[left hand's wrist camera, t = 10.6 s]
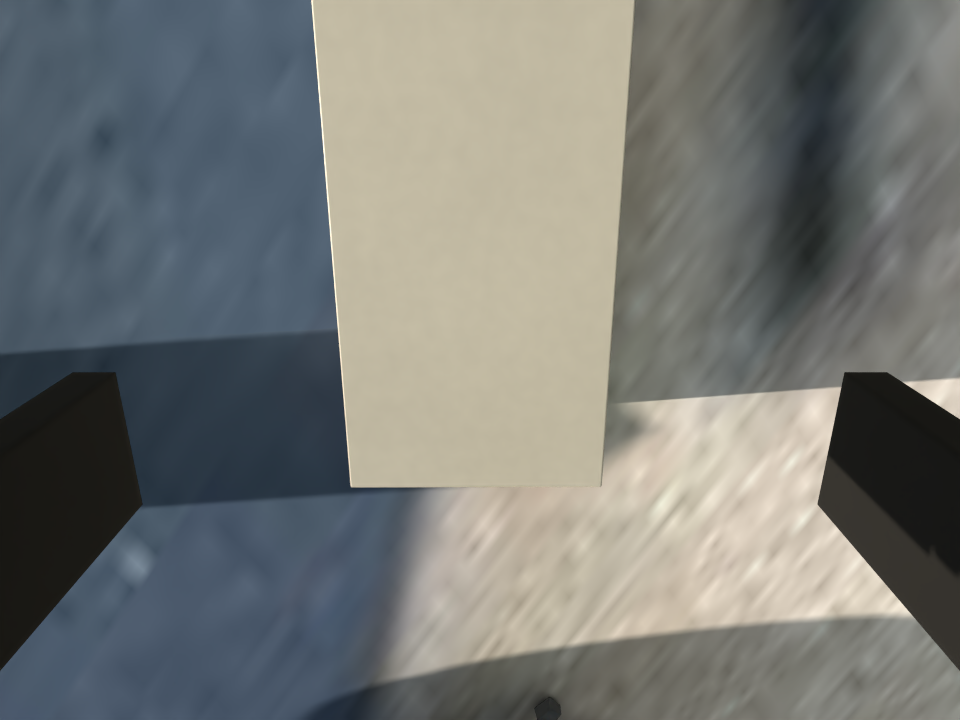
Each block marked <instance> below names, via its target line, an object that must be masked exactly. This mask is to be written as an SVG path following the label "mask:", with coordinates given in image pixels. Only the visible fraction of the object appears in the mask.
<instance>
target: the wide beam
mask: <svg viewBox="0 0 960 720" xmlns="http://www.w3.org/2000/svg"><path fill="white" fill-rule="evenodd" d="M311 1H312V13H313V25H314V38H315V50H316V63H317V75H318V87H319V100H320V112H321V124H322V137H323V149H324V162H325V174H326V186H327V199H328V211H329V223H330V236H331V248H332V261H333V273H334V285H335V298H336V310H337V322H338V335H339V347H340V360H341V372H342V384H343V397H344V409H345V422H346V434H347V446H348V459H349V471H350V483H351V487H601V485H602V472H603V458H604V443H605V429H606V415H607V401H608V386H609V372H610V358H611V343H612V329H613V315H614V301H615V286H616V272H617V258H618V243H619V229H620V215H621V201H622V186H623V172H624V158H625V143H626V129H627V115H628V101H629V86H630V72H631V58H632V44H633V29H634V15H635V1H636V0H311Z"/></svg>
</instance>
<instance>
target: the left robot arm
mask: <svg viewBox="0 0 960 720" xmlns="http://www.w3.org/2000/svg"><path fill="white" fill-rule="evenodd" d="M141 505H142V500H141V495H140V490H139V485H138V480H137V475H136V470H135V465H134V461H133V456H132V451H131V446H130V441H129V436H128V431H127V426H126V422H125V417H124V412H123V407H122V402H121V397H120V392H119V387H118V383H117V378H116V373H115V372H73V373H71V374H70V375H68V376H67V377H65V378H63V379H62V380H60V381H59V382H57V383H56V384H54V385H53V386H51V387H50V388H48V389H46V390H45V391H43V392H42V393H40V394H39V395H37V396H36V397H34V398H32V399H31V400H29V401H28V402H26V403H25V404H23V405H22V406H20V407H19V408H17V409H15V410H14V411H12V412H11V413H9V414H8V415H6V416H5V417H3V418H2V419H0V670H1V669H2V668H3V667H4V666H5V665H6V663H7V662H8V661H9V660H10V659H11V657H12V656H13V655H14V654H15V653H16V652H17V650H18V649H19V648H20V647H21V646H22V645H23V643H24V642H25V641H26V640H27V639H28V638H29V636H30V635H31V634H32V633H33V632H34V631H35V629H36V628H37V627H38V626H39V625H40V624H41V622H42V621H43V620H44V619H45V618H46V617H47V615H48V614H49V613H50V612H51V611H52V610H53V608H54V607H55V606H56V605H57V604H58V603H59V601H60V600H61V599H62V598H63V597H64V596H65V594H66V593H67V592H68V591H69V590H70V588H71V587H72V586H73V585H74V584H75V583H76V581H77V580H78V579H79V578H80V577H81V576H82V574H83V573H84V572H85V571H86V570H87V569H88V567H89V566H90V565H91V564H92V563H93V562H94V560H95V559H96V558H97V557H98V556H99V555H100V553H101V552H102V551H103V550H104V549H105V548H106V546H107V545H108V544H109V543H110V542H111V541H112V539H113V538H114V537H115V536H116V535H117V534H118V532H119V531H120V530H121V529H122V528H123V527H124V525H125V524H126V523H127V522H128V521H129V519H130V518H131V517H132V516H133V515H134V514H135V512H136V511H137V510H138V509H139V508H140V507H141ZM818 505H819V507H820V508H821V509H822V510H823V511H824V512H825V514H826V515H827V516H828V517H829V518H830V519H831V521H832V522H833V523H834V524H835V525H836V527H837V528H838V529H839V530H840V531H841V532H842V534H843V535H844V536H845V537H846V538H847V539H848V541H849V542H850V543H851V544H852V545H853V546H854V548H855V549H856V550H857V551H858V552H859V553H860V555H861V556H862V557H863V558H864V559H865V560H866V562H867V563H868V564H869V565H870V566H871V567H872V569H873V570H874V571H875V572H876V573H877V574H878V576H879V577H880V578H881V579H882V580H883V581H884V583H885V584H886V585H887V586H888V587H889V588H890V590H891V591H892V592H893V593H894V594H895V596H896V597H897V598H898V599H899V600H900V601H901V603H902V604H903V605H904V606H905V607H906V608H907V610H908V611H909V612H910V613H911V614H912V615H913V617H914V618H915V619H916V620H917V621H918V622H919V624H920V625H921V626H922V627H923V628H924V629H925V631H926V632H927V633H928V634H929V635H930V636H931V638H932V639H933V640H934V641H935V642H936V643H937V645H938V646H939V647H940V648H941V649H942V650H943V652H944V653H945V654H946V655H947V656H948V657H949V659H950V660H951V661H952V662H953V663H954V665H955V666H956V667H957V668H958V669H959V670H960V419H958V418H957V417H955V416H954V415H952V414H951V413H949V412H948V411H946V410H945V409H943V408H941V407H940V406H938V405H937V404H935V403H934V402H932V401H931V400H929V399H928V398H926V397H924V396H923V395H921V394H920V393H918V392H917V391H915V390H914V389H912V388H910V387H909V386H907V385H906V384H904V383H903V382H901V381H900V380H898V379H897V378H895V377H893V376H892V375H890V374H889V373H887V372H845V373H844V378H843V383H842V387H841V392H840V397H839V402H838V407H837V412H836V417H835V422H834V426H833V431H832V436H831V441H830V446H829V451H828V456H827V461H826V465H825V470H824V475H823V480H822V485H821V490H820V495H819V500H818Z"/></svg>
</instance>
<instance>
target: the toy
mask: <svg viewBox="0 0 960 720" xmlns="http://www.w3.org/2000/svg"><path fill="white" fill-rule="evenodd" d="M535 712H536V716H537V720H557V719H558V718H559V716H560V715H561V709H560V705H559V704H558V703H556V702H555V701H554V700H553V699H551V698H550V697H549V698H547V699H546V700H545V701H544V702H542V703H541V704H540V705H538V706H537V707H536V708H535Z"/></svg>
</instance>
